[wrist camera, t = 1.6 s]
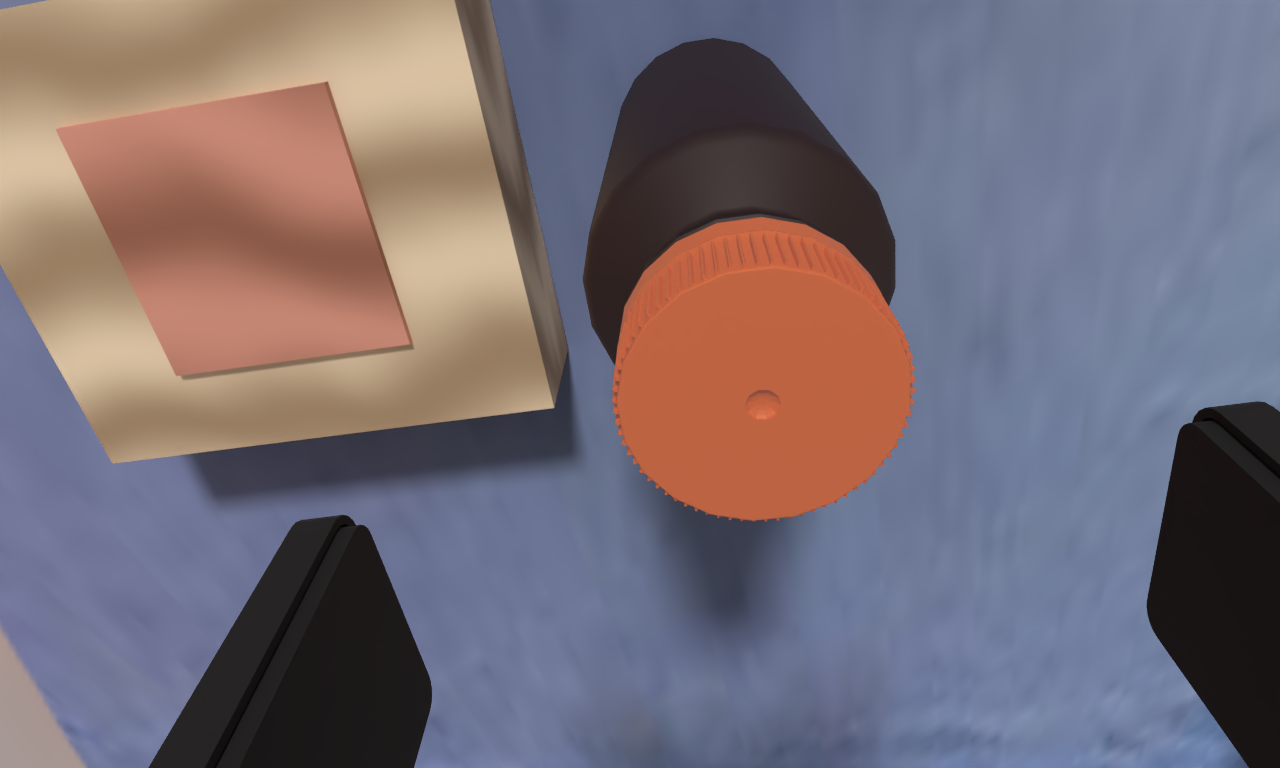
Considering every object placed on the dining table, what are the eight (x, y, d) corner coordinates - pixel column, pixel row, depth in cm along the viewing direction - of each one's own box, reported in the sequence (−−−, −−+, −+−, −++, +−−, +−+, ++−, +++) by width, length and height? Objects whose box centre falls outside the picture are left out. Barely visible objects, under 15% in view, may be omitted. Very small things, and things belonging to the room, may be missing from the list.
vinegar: (736, -6, 28) (848, 100, 11) (832, 156, 31) (1047, 450, 14) (581, 111, 31) (467, 357, 13) (684, 254, 33) (702, 619, 16)
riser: (568, 348, 35) (553, 412, 31) (177, 400, 37) (108, 467, 32) (472, -73, 28) (433, -73, 23) (-12, 18, 30) (-139, 35, 25)
